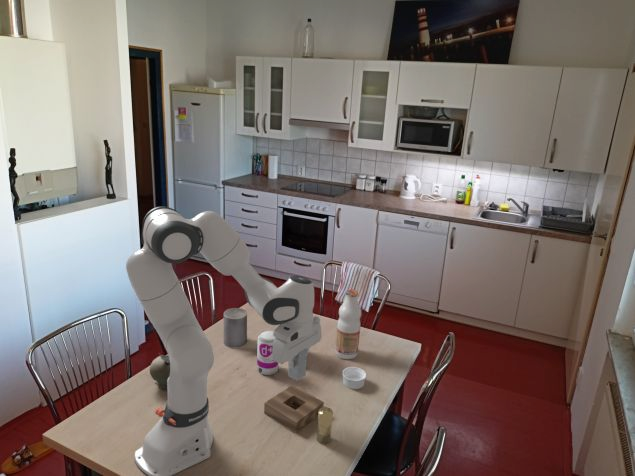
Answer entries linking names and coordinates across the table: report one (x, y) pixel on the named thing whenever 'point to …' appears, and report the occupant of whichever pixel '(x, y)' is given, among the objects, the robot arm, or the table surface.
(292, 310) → the robot arm
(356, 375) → the ramekin
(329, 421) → the round bit
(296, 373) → the square bit
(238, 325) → the pillar candle
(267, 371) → the supplement can
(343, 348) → the fruit juice
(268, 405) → the socket block
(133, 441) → the table surface
